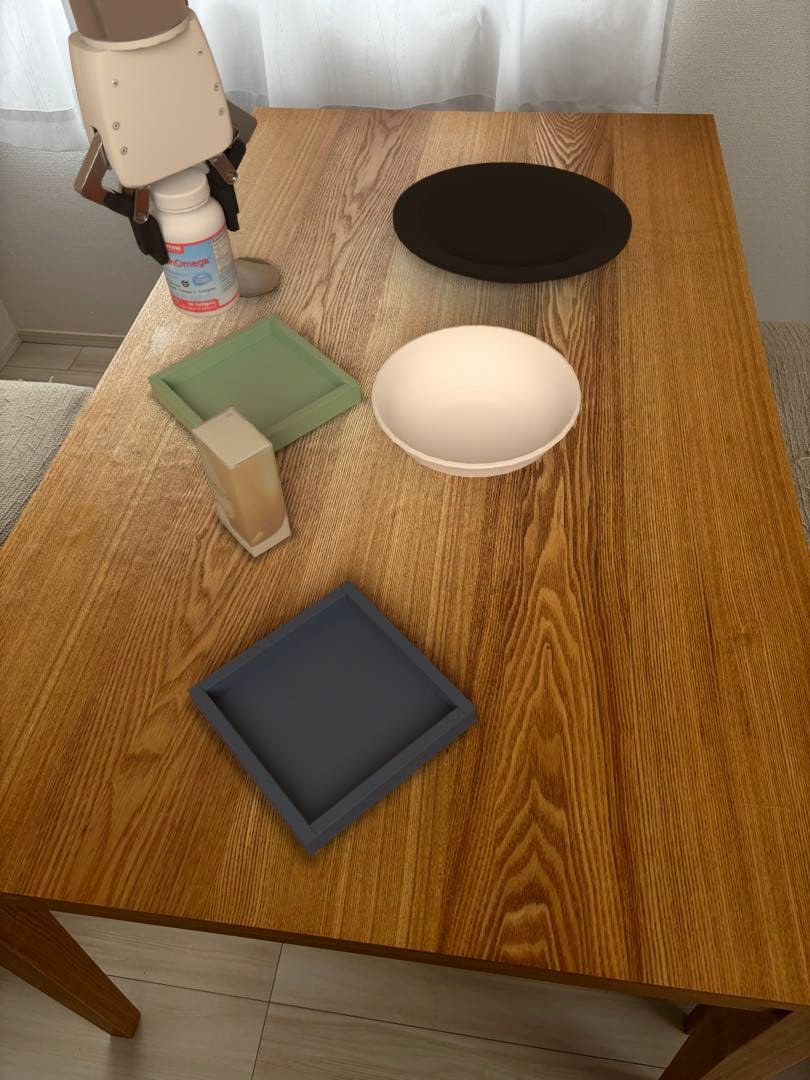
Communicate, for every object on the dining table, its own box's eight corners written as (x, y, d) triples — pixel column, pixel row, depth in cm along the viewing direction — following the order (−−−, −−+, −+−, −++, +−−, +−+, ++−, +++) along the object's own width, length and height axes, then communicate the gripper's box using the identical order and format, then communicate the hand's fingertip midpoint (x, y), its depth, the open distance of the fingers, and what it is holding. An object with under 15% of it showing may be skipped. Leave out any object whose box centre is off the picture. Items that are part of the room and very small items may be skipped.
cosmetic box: (218, 520, 82) (187, 427, 72) (256, 497, 83) (230, 402, 74) (256, 561, 79) (228, 469, 69) (295, 536, 80) (273, 442, 71)
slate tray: (310, 856, 62) (306, 844, 60) (194, 704, 70) (187, 689, 68) (475, 722, 68) (476, 707, 66) (351, 595, 76) (348, 579, 74)
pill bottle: (162, 315, 76) (123, 196, 67) (193, 274, 80) (160, 156, 71) (224, 325, 75) (193, 205, 66) (253, 284, 78) (227, 165, 69)
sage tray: (234, 476, 85) (228, 459, 83) (153, 395, 93) (147, 377, 91) (361, 400, 91) (359, 382, 89) (275, 330, 99) (272, 312, 97)
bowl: (410, 358, 95) (407, 310, 90) (590, 390, 90) (598, 341, 85) (348, 489, 83) (341, 442, 78) (551, 532, 79) (558, 486, 74)
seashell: (280, 314, 104) (279, 263, 107) (280, 297, 101) (279, 245, 104) (209, 312, 102) (211, 260, 106) (208, 294, 100) (209, 241, 103)
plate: (367, 297, 102) (363, 256, 98) (428, 191, 116) (426, 150, 111) (605, 336, 96) (612, 293, 91) (639, 219, 109) (647, 177, 105)
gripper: (209, -45, 63) (254, 185, 78) (-15, 27, 57) (79, 263, 71) (265, -18, 60) (302, 219, 74) (32, 62, 53) (121, 304, 68)
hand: (192, 239), depth 72 cm, fingers closed on pill bottle, 6 cm apart
